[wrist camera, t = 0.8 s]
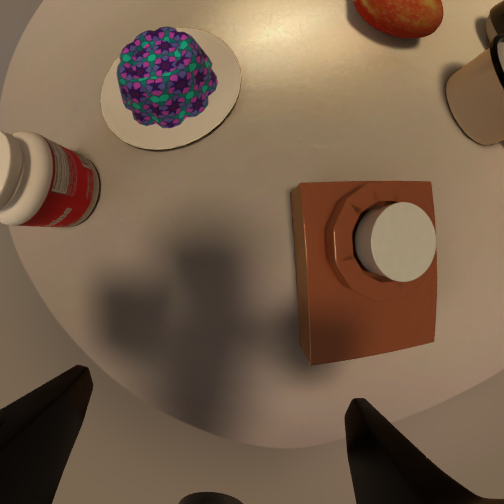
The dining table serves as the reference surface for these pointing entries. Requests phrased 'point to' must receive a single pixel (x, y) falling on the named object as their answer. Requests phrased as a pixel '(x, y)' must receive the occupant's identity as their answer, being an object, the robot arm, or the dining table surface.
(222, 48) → the pudding
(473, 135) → the mug
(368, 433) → the robot arm
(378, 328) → the button housing
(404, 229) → the white cylinder
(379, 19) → the apple
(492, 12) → the pump dispenser
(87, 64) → the dining table surface
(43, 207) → the pill bottle
